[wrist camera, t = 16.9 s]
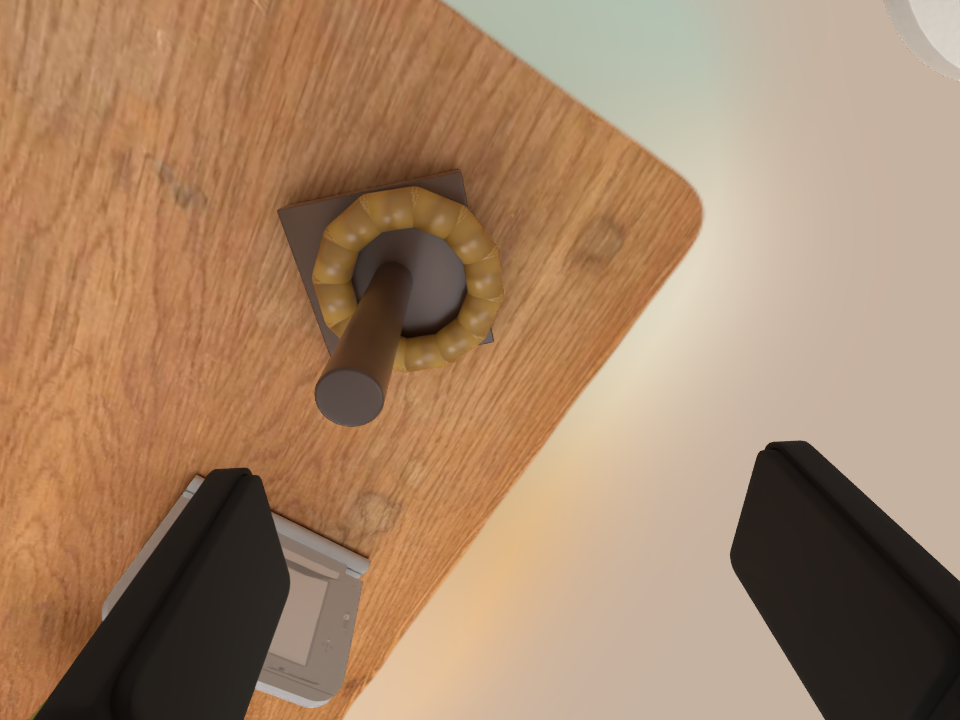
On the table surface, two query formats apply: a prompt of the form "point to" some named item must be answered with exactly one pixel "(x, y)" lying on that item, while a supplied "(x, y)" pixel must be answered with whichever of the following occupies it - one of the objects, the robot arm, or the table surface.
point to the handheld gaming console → (294, 609)
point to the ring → (431, 217)
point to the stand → (378, 296)
